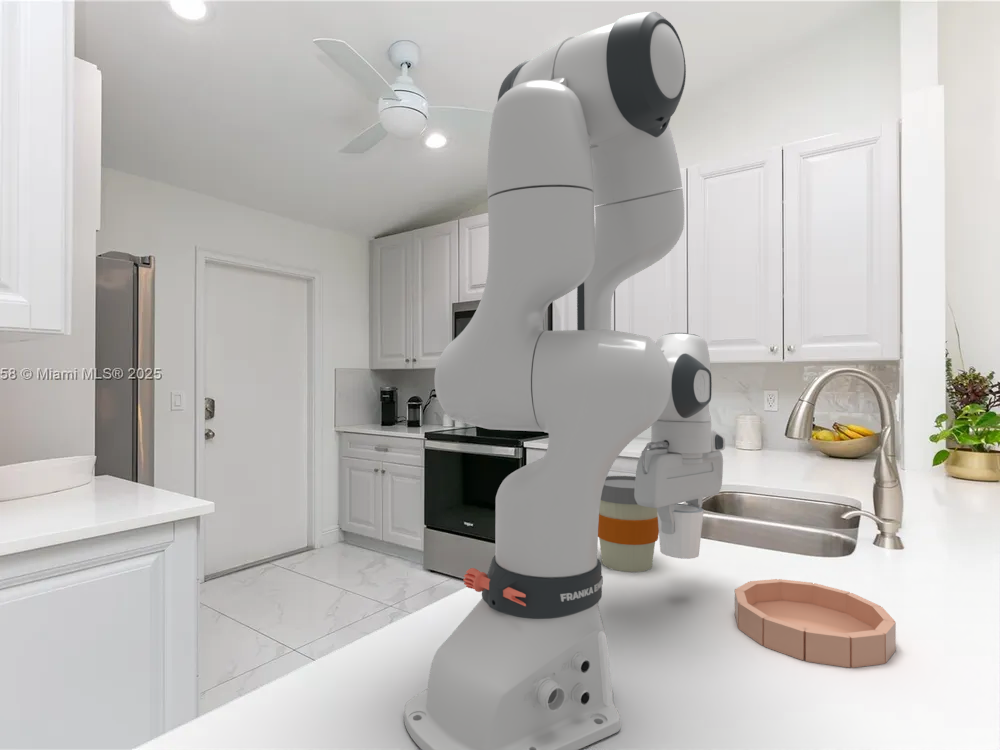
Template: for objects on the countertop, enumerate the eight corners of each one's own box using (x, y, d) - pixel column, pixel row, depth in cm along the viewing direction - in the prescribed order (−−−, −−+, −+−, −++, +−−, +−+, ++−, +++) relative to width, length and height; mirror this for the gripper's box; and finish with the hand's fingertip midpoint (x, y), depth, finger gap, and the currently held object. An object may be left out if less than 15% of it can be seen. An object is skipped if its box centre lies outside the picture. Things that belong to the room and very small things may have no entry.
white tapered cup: (706, 561, 79) (706, 513, 79) (657, 557, 81) (657, 510, 81) (700, 549, 86) (700, 504, 86) (655, 545, 87) (655, 501, 88)
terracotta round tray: (869, 684, 60) (869, 652, 60) (712, 627, 74) (712, 602, 74) (908, 633, 72) (908, 607, 72) (767, 593, 86) (767, 570, 86)
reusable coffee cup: (677, 566, 98) (677, 483, 98) (629, 581, 91) (629, 491, 91) (624, 548, 108) (625, 473, 108) (578, 560, 101) (578, 479, 101)
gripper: (662, 444, 74) (662, 546, 74) (730, 438, 88) (730, 524, 88) (624, 440, 79) (623, 536, 79) (694, 435, 93) (693, 517, 92)
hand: (680, 530), depth 83 cm, fingers closed on white tapered cup, 5 cm apart
